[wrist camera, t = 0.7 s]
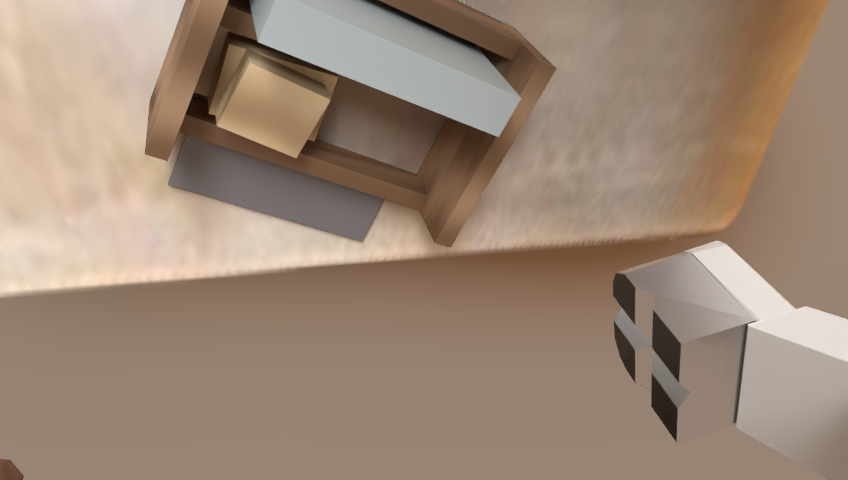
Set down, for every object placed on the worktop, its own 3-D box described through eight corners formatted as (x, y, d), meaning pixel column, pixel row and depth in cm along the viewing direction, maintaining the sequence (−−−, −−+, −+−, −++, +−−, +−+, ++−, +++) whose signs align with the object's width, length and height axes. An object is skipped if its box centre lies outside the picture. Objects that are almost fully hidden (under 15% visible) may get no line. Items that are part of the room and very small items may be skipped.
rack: (224, -110, 41) (230, -82, 36) (515, 28, 50) (556, 68, 44) (149, 101, 47) (144, 154, 41) (423, 193, 55) (450, 247, 50)
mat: (188, 129, 48) (188, 132, 48) (384, 193, 54) (385, 196, 54) (168, 182, 50) (168, 185, 50) (361, 238, 56) (362, 241, 56)
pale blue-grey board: (260, -59, 43) (277, -7, 35) (467, 35, 50) (521, 98, 42) (245, -18, 44) (258, 42, 36) (449, 70, 51) (498, 137, 43)
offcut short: (247, 48, 43) (249, 62, 41) (325, 85, 45) (330, 100, 44) (215, 109, 44) (216, 125, 43) (292, 141, 47) (296, 158, 45)
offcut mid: (227, 31, 44) (229, 44, 43) (333, 64, 47) (338, 77, 45) (207, 99, 46) (208, 113, 45) (310, 126, 49) (314, 141, 47)
